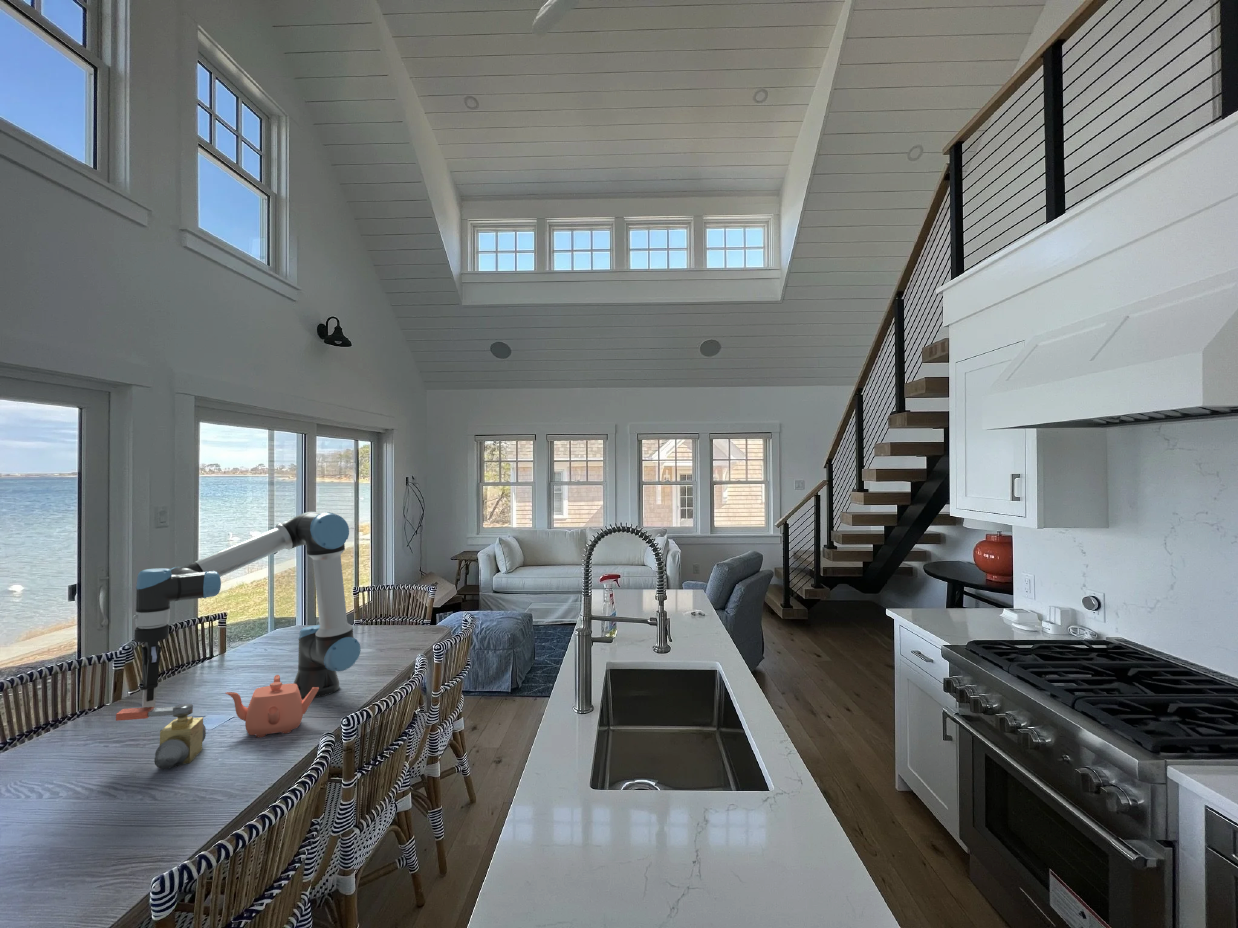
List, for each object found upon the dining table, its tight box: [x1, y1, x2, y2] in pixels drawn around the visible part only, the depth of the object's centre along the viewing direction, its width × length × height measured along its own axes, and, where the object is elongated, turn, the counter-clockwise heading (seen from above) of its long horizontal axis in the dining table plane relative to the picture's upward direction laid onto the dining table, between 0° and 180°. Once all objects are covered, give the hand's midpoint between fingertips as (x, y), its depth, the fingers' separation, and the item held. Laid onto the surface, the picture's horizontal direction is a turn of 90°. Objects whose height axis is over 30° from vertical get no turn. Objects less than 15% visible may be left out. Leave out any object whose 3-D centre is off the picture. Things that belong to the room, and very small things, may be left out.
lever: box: [115, 703, 194, 722], centre depth 160 cm, size 17×4×2 cm, turn 105°
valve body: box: [153, 715, 207, 770], centre depth 161 cm, size 18×7×12 cm, turn 15°
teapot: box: [225, 674, 319, 738], centre depth 181 cm, size 18×18×14 cm
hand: (148, 711), depth 165 cm, fingers closed
